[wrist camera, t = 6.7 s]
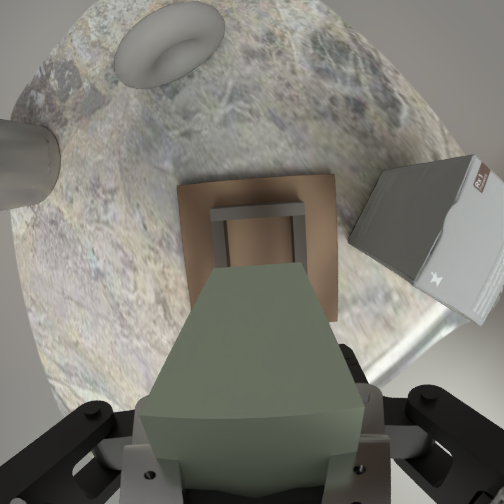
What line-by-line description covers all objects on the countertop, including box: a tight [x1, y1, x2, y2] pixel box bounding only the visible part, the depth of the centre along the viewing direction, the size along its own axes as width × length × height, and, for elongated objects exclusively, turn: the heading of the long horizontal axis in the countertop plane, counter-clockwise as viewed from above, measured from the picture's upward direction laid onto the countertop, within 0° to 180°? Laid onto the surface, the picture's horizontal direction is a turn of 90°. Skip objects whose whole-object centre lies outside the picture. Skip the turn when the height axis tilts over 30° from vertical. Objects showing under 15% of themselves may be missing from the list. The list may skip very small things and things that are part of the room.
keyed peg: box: [139, 262, 365, 498], centre depth 10 cm, size 6×4×10 cm, turn 5°
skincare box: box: [348, 154, 504, 326], centre depth 22 cm, size 8×7×16 cm
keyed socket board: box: [177, 174, 338, 322], centre depth 29 cm, size 14×14×4 cm
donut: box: [114, 1, 225, 89], centre depth 22 cm, size 10×4×10 cm, turn 122°
